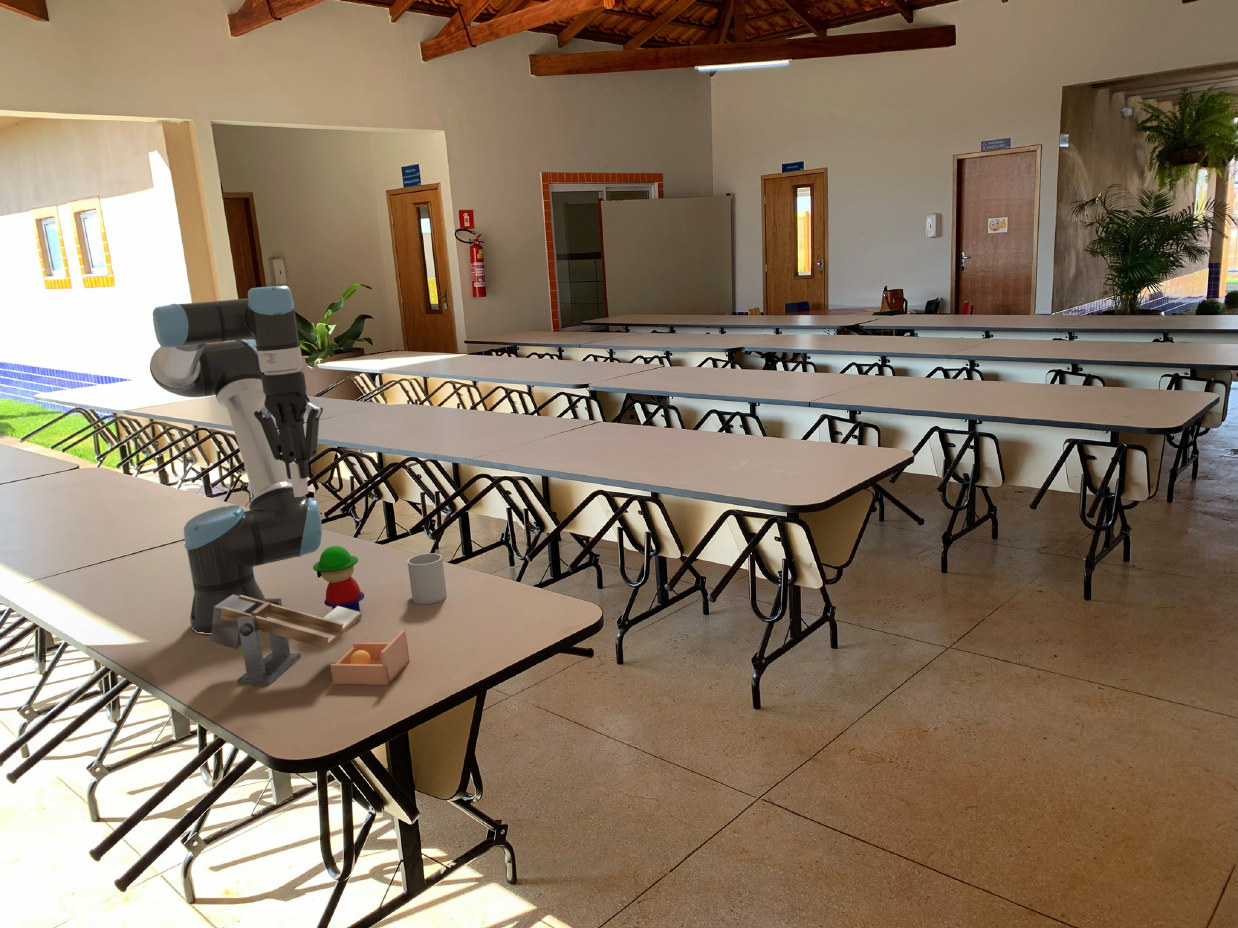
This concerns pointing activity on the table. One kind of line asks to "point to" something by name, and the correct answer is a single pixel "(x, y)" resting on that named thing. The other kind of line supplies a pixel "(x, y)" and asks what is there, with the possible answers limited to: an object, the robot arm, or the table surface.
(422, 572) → the cup
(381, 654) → the pink open box
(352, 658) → the ball
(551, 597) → the table surface
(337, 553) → the toy
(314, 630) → the lever
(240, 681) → the bracket
